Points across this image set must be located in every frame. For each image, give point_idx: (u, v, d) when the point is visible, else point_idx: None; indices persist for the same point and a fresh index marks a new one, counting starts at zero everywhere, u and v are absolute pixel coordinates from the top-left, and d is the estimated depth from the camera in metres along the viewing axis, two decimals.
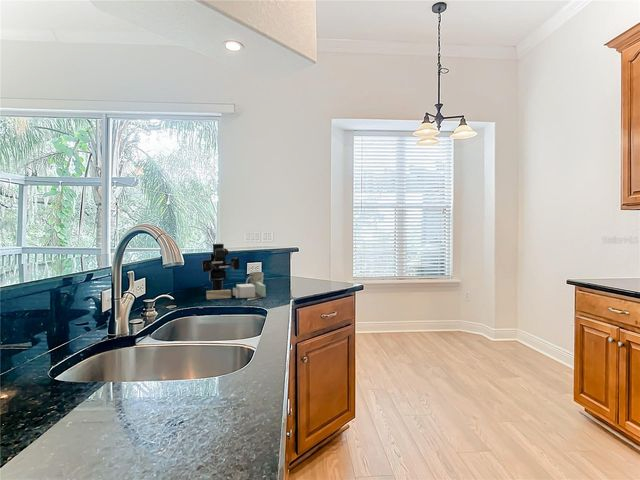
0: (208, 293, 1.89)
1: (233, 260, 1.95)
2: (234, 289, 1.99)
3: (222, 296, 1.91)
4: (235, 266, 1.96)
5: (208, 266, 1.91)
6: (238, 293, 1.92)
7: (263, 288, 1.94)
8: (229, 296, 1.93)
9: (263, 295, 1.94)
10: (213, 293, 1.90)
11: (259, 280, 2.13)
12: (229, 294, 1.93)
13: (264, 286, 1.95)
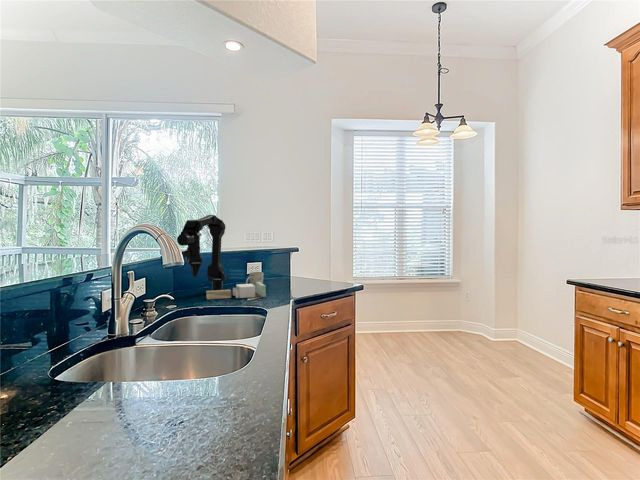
0: (208, 293, 1.88)
1: (190, 265, 1.81)
2: (234, 289, 1.99)
3: (222, 296, 1.91)
4: (197, 264, 1.81)
5: None
6: (238, 293, 1.92)
7: (263, 288, 1.94)
8: (229, 296, 1.93)
9: (263, 295, 1.94)
10: (213, 293, 1.89)
11: (259, 280, 2.13)
12: (229, 294, 1.93)
13: (264, 286, 1.95)
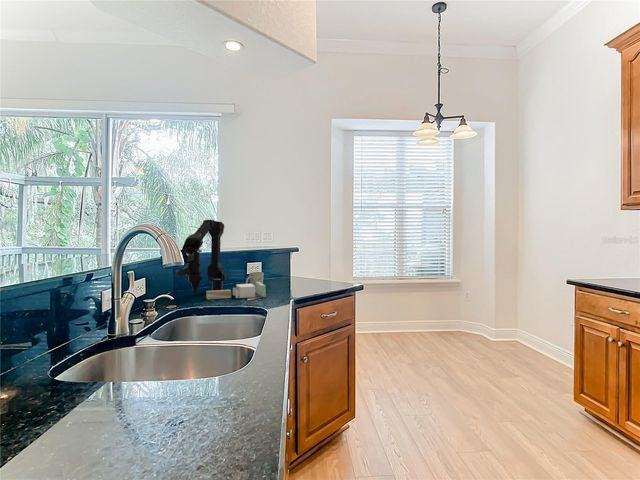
0: (208, 293, 1.88)
1: (190, 281, 1.85)
2: (234, 289, 1.99)
3: (222, 296, 1.91)
4: (197, 280, 1.85)
5: None
6: (238, 293, 1.92)
7: (263, 288, 1.94)
8: (229, 296, 1.93)
9: (263, 295, 1.94)
10: (213, 293, 1.89)
11: (259, 280, 2.13)
12: (229, 294, 1.93)
13: (264, 286, 1.95)
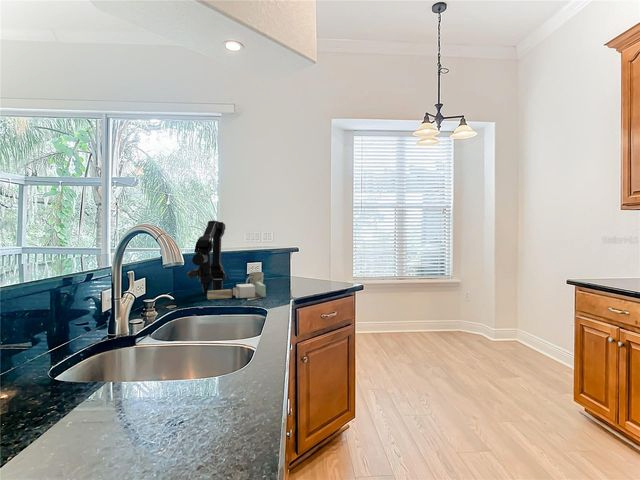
0: (209, 293, 1.89)
1: (201, 283, 1.87)
2: (234, 289, 1.99)
3: (223, 296, 1.91)
4: (208, 282, 1.87)
5: None
6: (238, 293, 1.92)
7: (263, 288, 1.94)
8: (230, 296, 1.93)
9: (263, 295, 1.94)
10: (214, 293, 1.90)
11: (259, 280, 2.13)
12: (230, 294, 1.93)
13: (264, 286, 1.95)
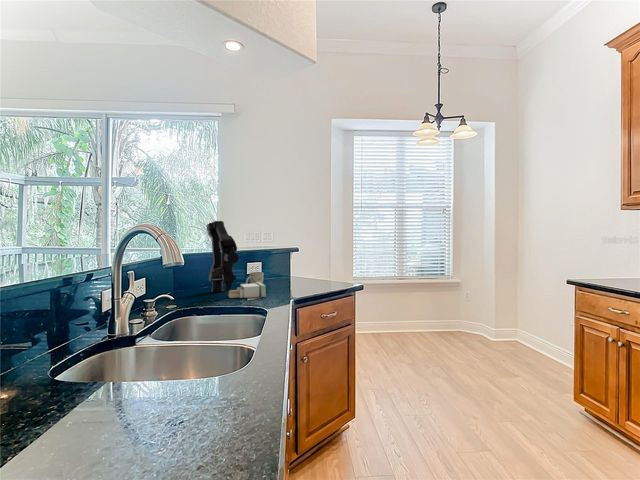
0: (230, 292, 1.92)
1: None
2: (238, 289, 2.00)
3: None
4: (230, 280, 1.92)
5: None
6: (242, 293, 1.93)
7: (263, 288, 1.94)
8: None
9: (263, 295, 1.94)
10: (235, 292, 1.93)
11: (259, 280, 2.13)
12: None
13: (264, 286, 1.95)
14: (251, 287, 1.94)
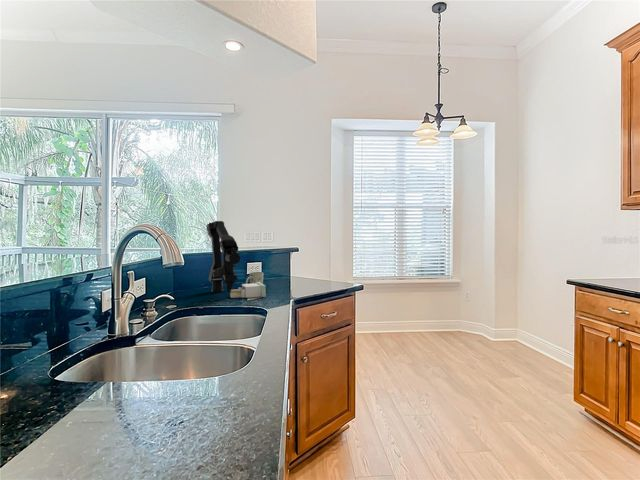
0: (232, 292, 1.93)
1: None
2: None
3: None
4: (231, 280, 1.92)
5: None
6: (244, 293, 1.93)
7: (263, 288, 1.94)
8: None
9: (263, 295, 1.94)
10: (237, 292, 1.94)
11: (259, 280, 2.13)
12: None
13: (264, 286, 1.95)
14: (253, 287, 1.94)
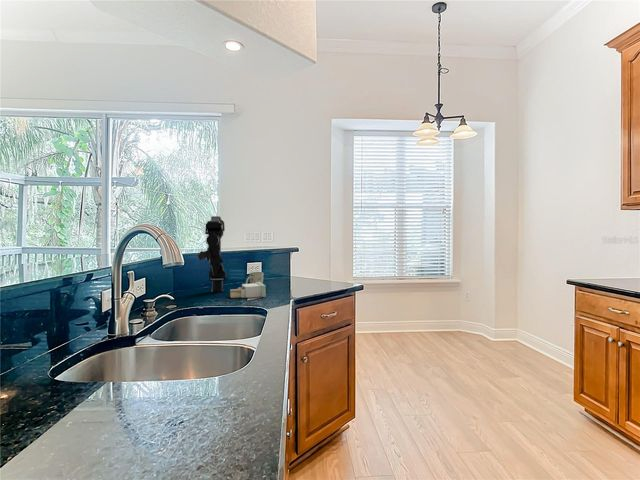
0: (232, 291, 1.93)
1: (210, 264, 1.88)
2: None
3: None
4: (217, 263, 1.89)
5: None
6: (244, 293, 1.93)
7: (263, 288, 1.94)
8: None
9: (263, 295, 1.94)
10: (237, 291, 1.94)
11: (259, 280, 2.13)
12: None
13: (264, 286, 1.95)
14: (253, 287, 1.94)
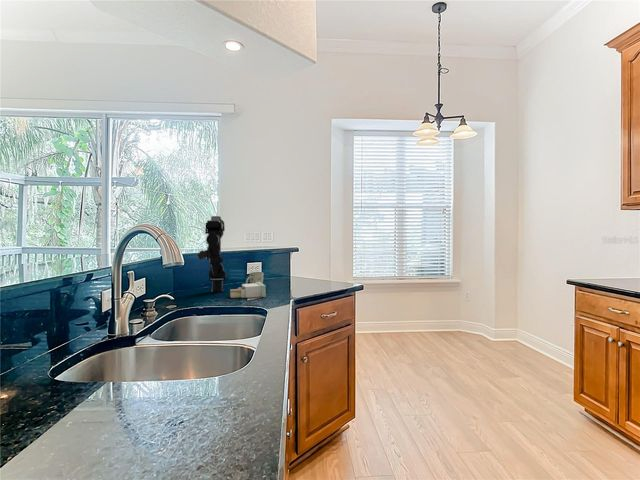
0: (232, 291, 1.93)
1: None
2: None
3: None
4: (217, 263, 1.89)
5: None
6: (244, 293, 1.93)
7: (263, 288, 1.94)
8: None
9: (263, 295, 1.94)
10: (237, 291, 1.94)
11: (259, 280, 2.13)
12: None
13: (264, 286, 1.95)
14: (253, 287, 1.94)
